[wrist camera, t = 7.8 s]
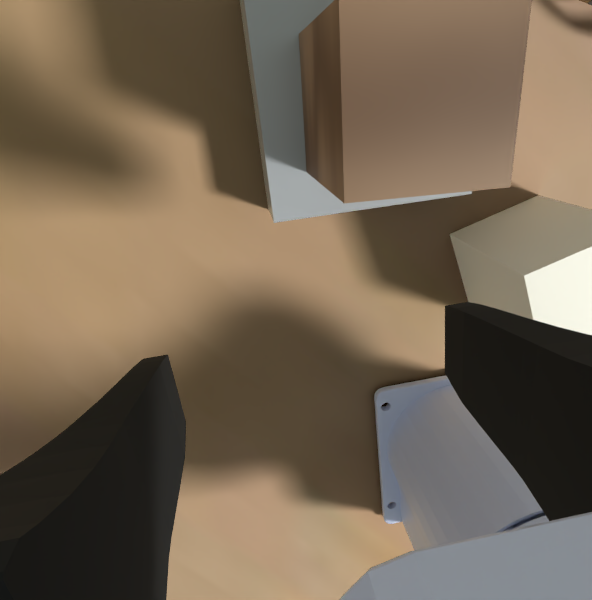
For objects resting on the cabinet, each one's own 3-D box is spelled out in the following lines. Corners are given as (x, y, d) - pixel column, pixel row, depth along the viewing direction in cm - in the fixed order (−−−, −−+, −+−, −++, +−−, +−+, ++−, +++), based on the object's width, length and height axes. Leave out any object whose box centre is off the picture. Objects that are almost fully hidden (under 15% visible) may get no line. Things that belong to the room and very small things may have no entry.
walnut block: (422, 161, 18) (510, 187, 12) (306, 171, 17) (344, 203, 12) (427, 26, 16) (533, -14, 11) (298, 34, 16) (338, -5, 10)
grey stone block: (440, 182, 21) (472, 193, 19) (267, 207, 21) (274, 222, 18) (442, -25, 18) (481, -49, 15) (238, -4, 17) (240, -25, 15)
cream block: (553, 277, 24) (653, 328, 18) (470, 312, 24) (544, 374, 18) (538, 194, 22) (643, 223, 16) (449, 233, 22) (524, 275, 16)
